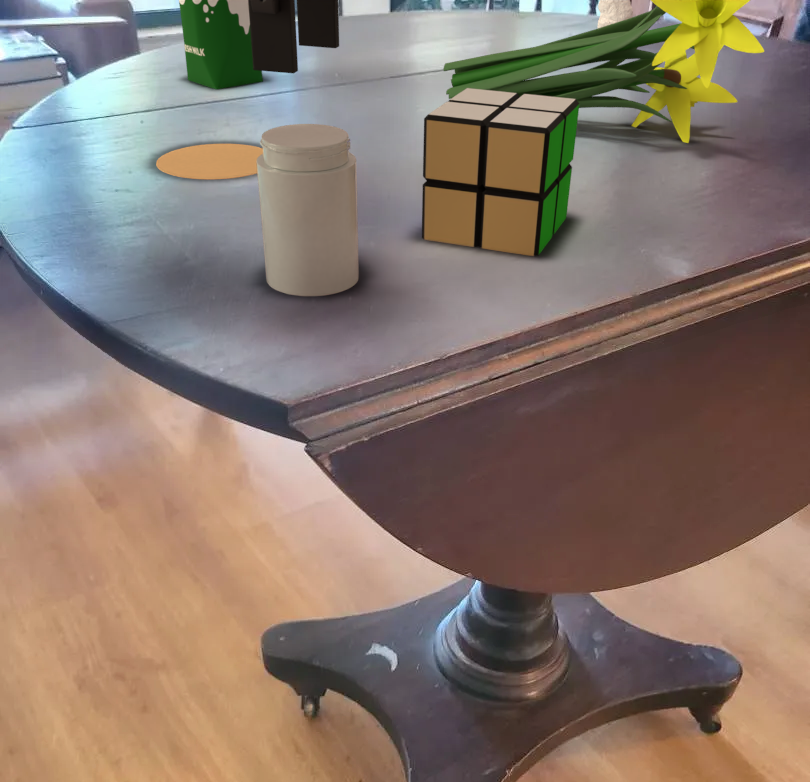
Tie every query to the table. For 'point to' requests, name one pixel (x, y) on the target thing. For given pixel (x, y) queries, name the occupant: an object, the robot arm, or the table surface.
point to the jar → (308, 209)
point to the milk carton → (218, 43)
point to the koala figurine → (614, 11)
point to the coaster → (211, 161)
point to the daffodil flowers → (675, 83)
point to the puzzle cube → (498, 170)
